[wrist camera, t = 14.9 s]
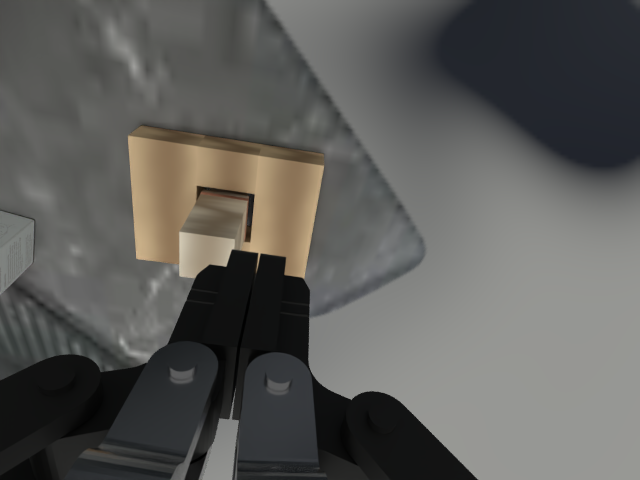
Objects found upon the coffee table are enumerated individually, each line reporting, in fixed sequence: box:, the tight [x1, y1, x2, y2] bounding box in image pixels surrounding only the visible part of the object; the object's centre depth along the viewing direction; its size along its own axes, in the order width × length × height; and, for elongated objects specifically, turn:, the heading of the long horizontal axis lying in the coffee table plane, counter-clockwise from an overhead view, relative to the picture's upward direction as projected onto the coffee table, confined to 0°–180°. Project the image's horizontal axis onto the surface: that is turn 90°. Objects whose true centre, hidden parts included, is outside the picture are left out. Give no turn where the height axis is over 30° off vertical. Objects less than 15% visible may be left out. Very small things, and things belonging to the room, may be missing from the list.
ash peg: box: [179, 188, 249, 278], centre depth 36 cm, size 4×4×10 cm
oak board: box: [128, 125, 324, 279], centre depth 39 cm, size 16×12×3 cm
